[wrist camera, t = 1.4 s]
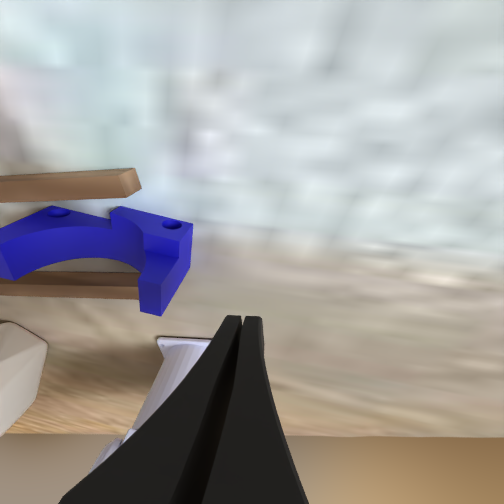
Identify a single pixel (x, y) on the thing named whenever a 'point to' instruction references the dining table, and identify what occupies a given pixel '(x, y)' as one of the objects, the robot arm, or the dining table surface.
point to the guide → (71, 188)
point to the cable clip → (103, 247)
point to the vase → (19, 371)
